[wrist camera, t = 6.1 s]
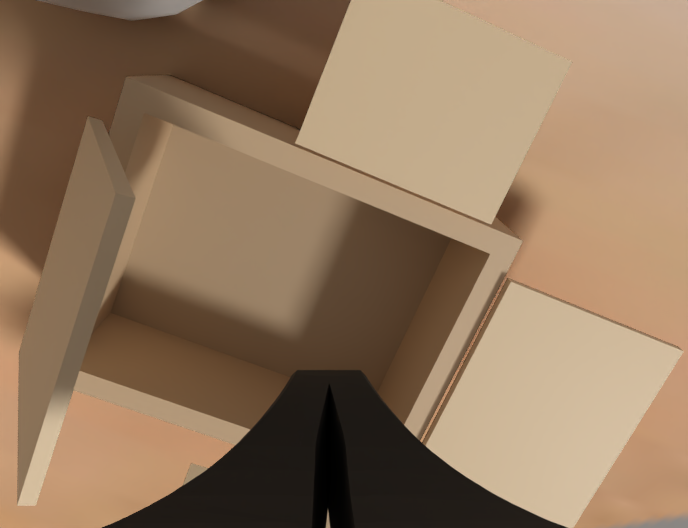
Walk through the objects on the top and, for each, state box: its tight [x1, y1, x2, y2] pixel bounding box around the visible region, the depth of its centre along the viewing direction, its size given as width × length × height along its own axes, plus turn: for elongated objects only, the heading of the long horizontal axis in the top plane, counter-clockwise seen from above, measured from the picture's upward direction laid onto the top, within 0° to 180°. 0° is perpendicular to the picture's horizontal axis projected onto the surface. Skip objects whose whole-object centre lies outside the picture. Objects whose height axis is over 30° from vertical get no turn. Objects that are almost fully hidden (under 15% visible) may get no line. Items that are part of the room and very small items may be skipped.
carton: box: [74, 0, 684, 528], centre depth 17 cm, size 15×12×4 cm
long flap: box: [17, 116, 136, 506], centre depth 12 cm, size 5×6×1 cm
